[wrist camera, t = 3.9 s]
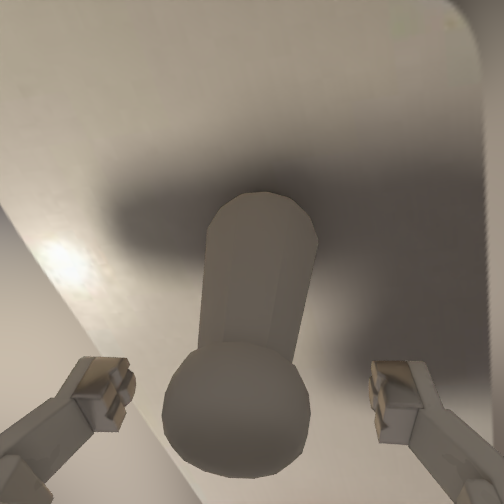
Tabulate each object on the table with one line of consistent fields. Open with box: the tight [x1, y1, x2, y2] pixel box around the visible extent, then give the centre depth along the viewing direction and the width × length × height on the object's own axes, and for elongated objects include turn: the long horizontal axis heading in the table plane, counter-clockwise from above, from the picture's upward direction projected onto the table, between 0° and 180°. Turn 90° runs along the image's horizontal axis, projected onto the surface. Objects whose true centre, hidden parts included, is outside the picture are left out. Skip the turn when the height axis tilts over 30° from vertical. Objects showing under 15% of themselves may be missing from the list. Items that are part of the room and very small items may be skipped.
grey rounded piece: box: [162, 192, 319, 479], centre depth 15 cm, size 6×6×13 cm
